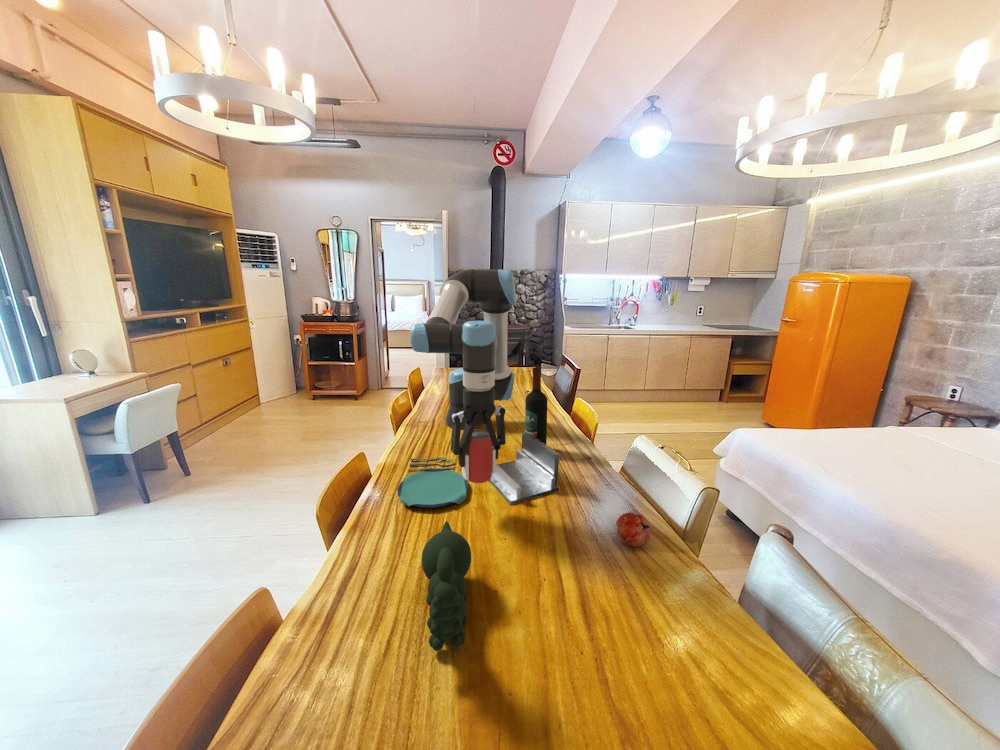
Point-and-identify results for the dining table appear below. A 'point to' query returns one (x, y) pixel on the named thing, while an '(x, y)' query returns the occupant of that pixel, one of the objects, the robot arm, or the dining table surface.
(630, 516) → the pomegranate
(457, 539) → the toy figurine
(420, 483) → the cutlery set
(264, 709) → the dining table surface
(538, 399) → the wine bottle
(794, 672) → the dining table surface
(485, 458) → the beer can
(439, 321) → the robot arm
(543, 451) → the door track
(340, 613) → the dining table surface
